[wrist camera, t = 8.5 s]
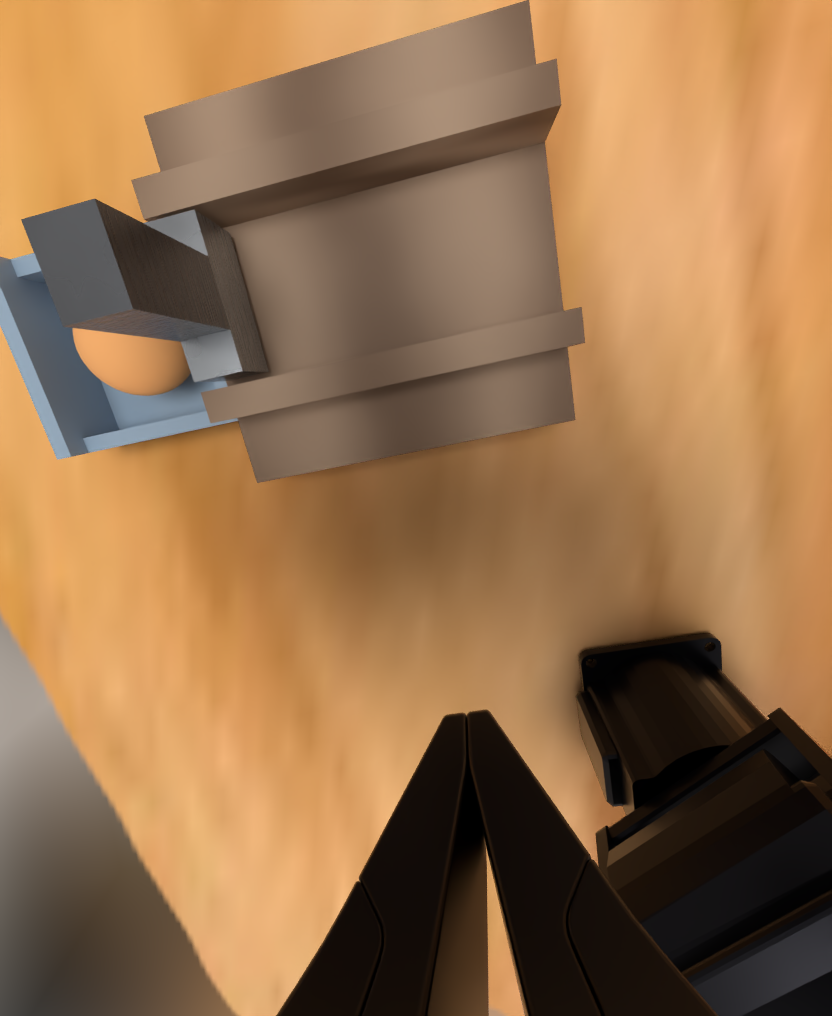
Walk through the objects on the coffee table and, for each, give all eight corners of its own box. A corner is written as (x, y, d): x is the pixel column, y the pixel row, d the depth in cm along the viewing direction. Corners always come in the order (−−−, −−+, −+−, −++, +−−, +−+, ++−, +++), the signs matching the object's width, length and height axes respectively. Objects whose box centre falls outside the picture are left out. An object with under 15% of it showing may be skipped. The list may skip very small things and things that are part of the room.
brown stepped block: (511, 77, 16) (543, -67, 11) (552, 412, 19) (593, 425, 14) (200, 165, 18) (97, 75, 12) (287, 465, 21) (234, 496, 15)
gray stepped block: (230, 233, 15) (68, 125, 8) (269, 371, 16) (154, 369, 10) (184, 245, 15) (-7, 149, 9) (226, 381, 16) (85, 384, 10)
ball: (164, 297, 19) (189, 266, 16) (195, 392, 20) (224, 379, 17) (51, 302, 17) (54, 267, 14) (92, 409, 18) (104, 398, 15)
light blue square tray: (213, 235, 18) (162, 204, 15) (265, 414, 20) (230, 422, 17) (54, 278, 19) (-29, 257, 16) (119, 446, 21) (57, 459, 18)
